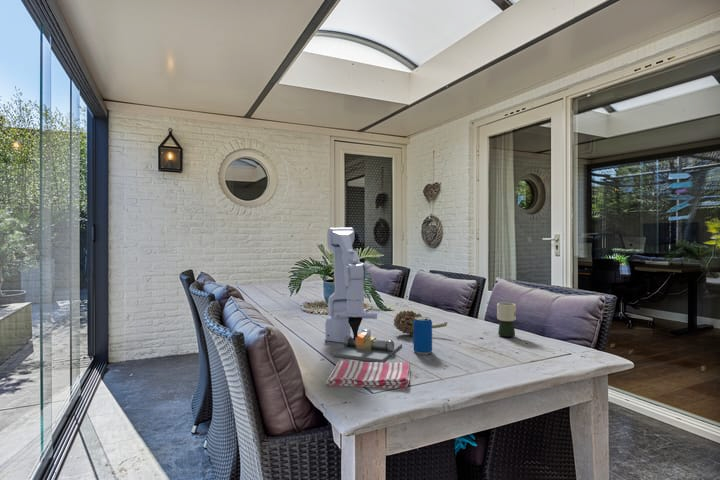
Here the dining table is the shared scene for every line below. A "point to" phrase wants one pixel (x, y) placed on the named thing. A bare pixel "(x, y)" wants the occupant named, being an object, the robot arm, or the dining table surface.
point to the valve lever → (363, 336)
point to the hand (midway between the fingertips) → (355, 339)
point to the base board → (366, 353)
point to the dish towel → (370, 374)
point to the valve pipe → (370, 344)
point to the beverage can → (422, 335)
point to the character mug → (506, 318)
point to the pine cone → (409, 322)
